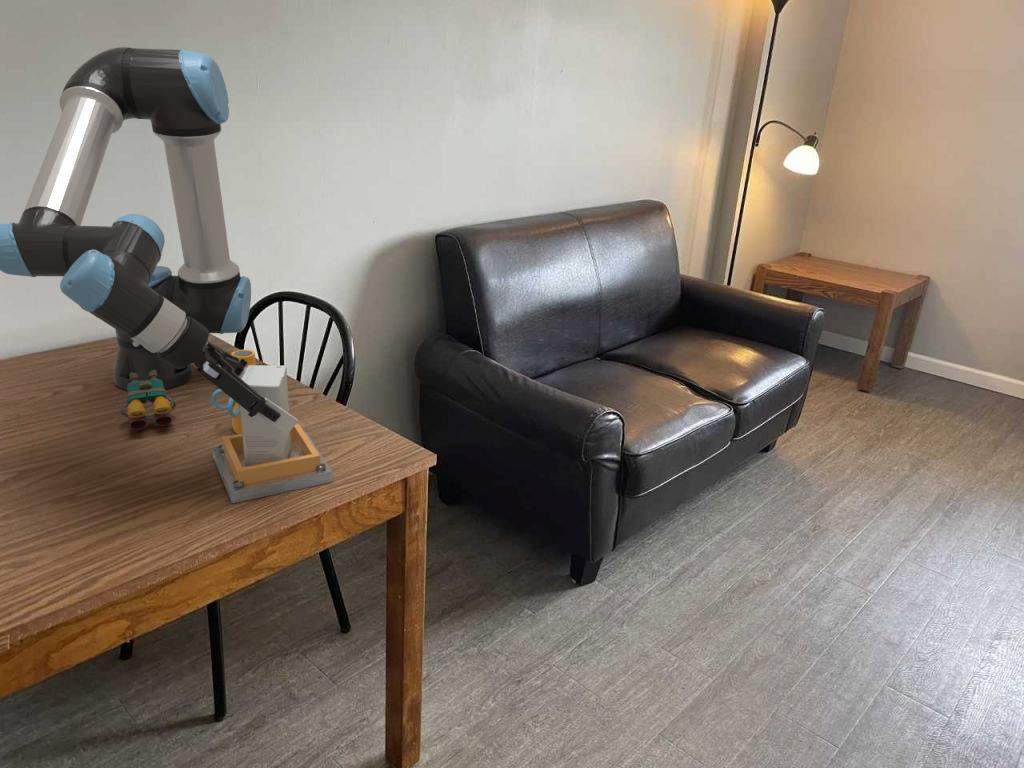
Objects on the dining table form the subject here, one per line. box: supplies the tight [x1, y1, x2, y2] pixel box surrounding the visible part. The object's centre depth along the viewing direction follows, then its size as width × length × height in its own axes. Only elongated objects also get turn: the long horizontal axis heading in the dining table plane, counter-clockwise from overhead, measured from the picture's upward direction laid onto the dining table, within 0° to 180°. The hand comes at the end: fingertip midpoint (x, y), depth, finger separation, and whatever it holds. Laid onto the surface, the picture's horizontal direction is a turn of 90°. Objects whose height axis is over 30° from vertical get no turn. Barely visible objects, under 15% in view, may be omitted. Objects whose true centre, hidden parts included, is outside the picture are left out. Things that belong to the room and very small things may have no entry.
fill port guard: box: [221, 423, 321, 485], centre depth 126 cm, size 13×13×2 cm
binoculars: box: [119, 370, 177, 431], centre depth 139 cm, size 9×9×10 cm
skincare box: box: [240, 364, 291, 467], centre depth 123 cm, size 8×7×16 cm
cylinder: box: [210, 349, 256, 434], centre depth 138 cm, size 12×10×15 cm
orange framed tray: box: [212, 430, 334, 504], centre depth 126 cm, size 16×16×3 cm
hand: (281, 410), depth 124 cm, fingers open, 13 cm apart
